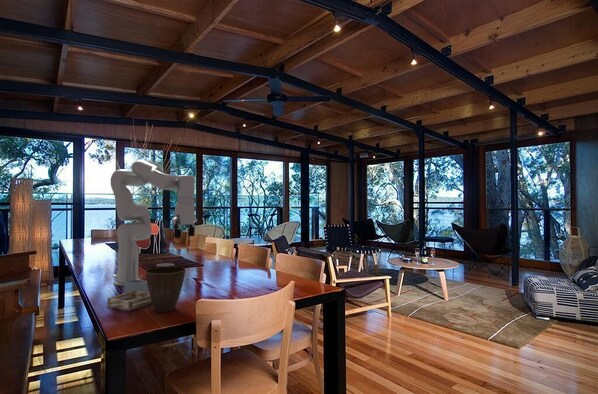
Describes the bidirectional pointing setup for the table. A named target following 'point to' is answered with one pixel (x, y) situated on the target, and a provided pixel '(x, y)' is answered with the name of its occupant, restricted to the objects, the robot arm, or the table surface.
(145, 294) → the birch crate
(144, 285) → the slate crate
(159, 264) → the coffee mug
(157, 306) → the plant pot
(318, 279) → the table surface
